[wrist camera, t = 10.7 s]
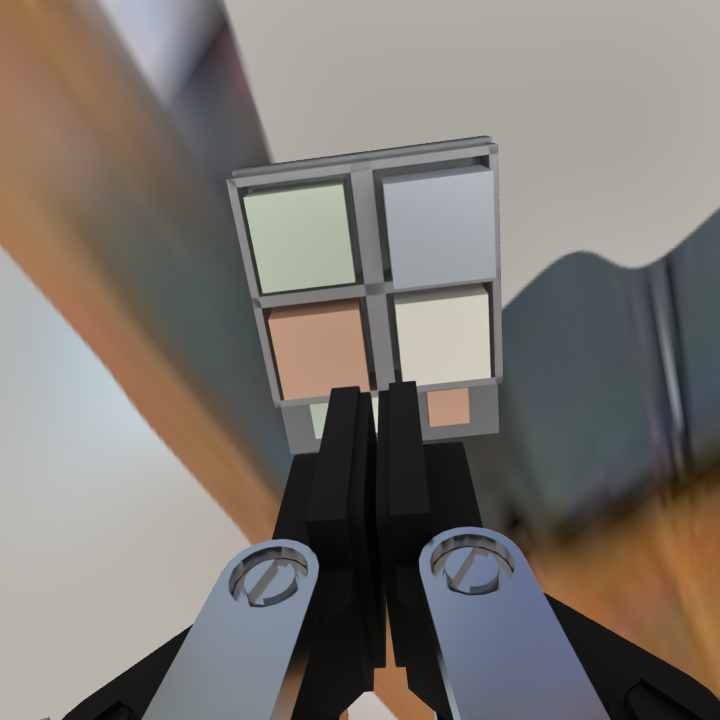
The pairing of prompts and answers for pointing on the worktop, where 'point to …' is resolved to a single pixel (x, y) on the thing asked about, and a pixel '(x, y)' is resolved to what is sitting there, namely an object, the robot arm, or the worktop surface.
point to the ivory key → (443, 334)
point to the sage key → (301, 235)
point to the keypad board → (375, 287)
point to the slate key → (440, 226)
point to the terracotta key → (320, 347)
